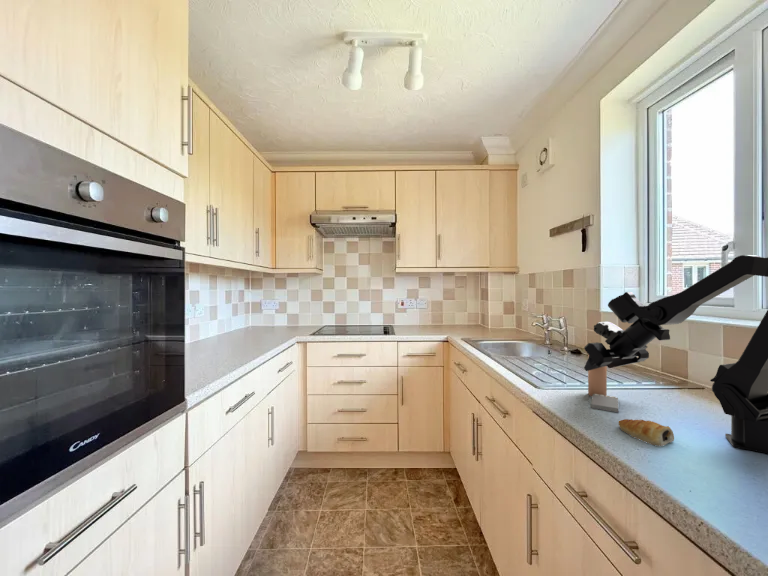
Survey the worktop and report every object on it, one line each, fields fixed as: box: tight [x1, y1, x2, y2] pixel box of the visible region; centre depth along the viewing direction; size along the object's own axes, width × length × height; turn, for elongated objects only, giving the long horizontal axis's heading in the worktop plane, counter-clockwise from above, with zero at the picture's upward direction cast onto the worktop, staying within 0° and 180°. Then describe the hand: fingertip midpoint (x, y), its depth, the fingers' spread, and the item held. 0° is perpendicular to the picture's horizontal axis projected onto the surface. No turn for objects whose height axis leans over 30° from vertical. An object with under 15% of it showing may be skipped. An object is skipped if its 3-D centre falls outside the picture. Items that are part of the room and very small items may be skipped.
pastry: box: [617, 418, 675, 447], centre depth 73 cm, size 9×7×4 cm
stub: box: [587, 353, 608, 397], centre depth 100 cm, size 5×5×12 cm
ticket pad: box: [590, 394, 619, 413], centre depth 92 cm, size 10×6×1 cm, turn 146°
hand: (596, 368), depth 100 cm, fingers open, 9 cm apart
